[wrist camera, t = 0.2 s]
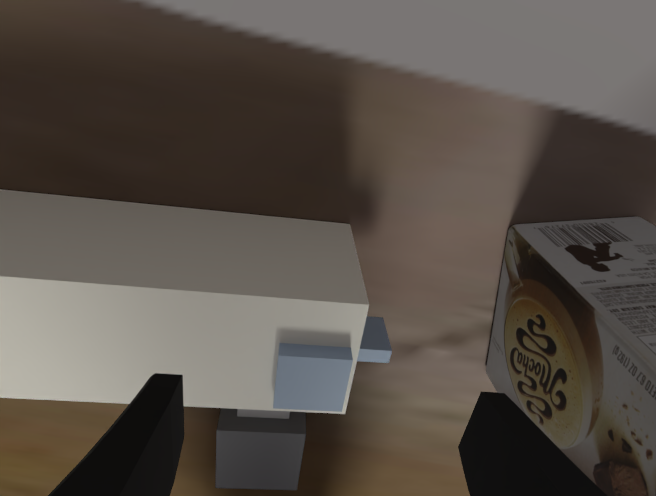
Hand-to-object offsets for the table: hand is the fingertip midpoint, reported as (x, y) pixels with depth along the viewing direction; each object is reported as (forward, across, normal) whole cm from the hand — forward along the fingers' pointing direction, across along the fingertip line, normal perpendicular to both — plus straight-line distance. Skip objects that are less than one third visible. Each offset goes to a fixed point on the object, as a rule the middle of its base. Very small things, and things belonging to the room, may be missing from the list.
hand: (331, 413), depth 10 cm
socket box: (+10, +7, +2) cm, 12 cm away
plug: (+10, +2, +10) cm, 14 cm away
